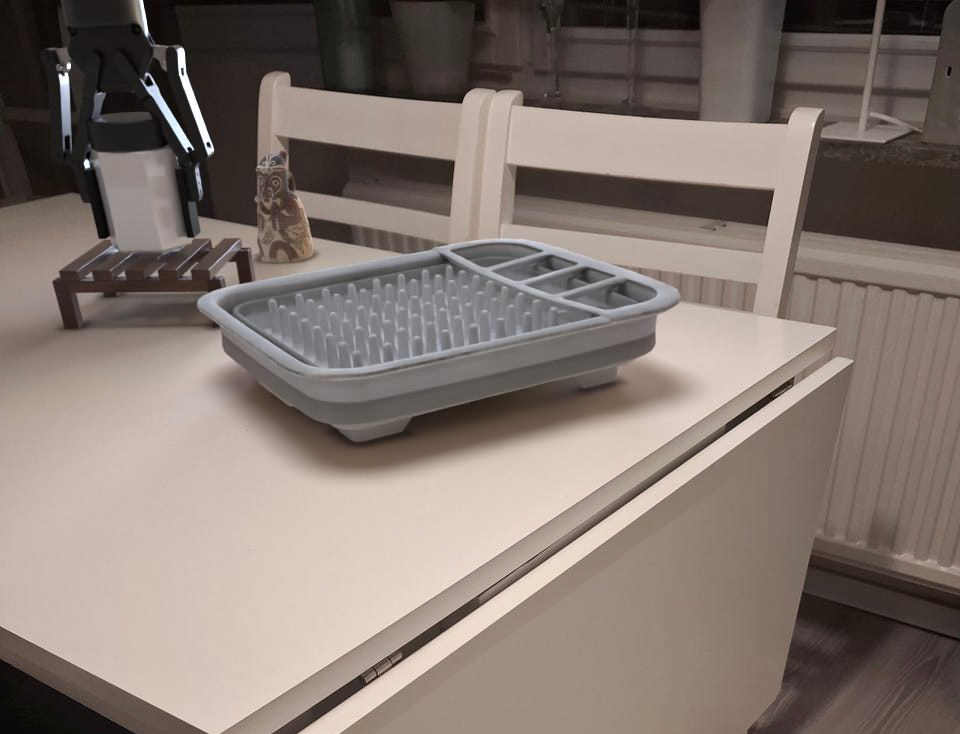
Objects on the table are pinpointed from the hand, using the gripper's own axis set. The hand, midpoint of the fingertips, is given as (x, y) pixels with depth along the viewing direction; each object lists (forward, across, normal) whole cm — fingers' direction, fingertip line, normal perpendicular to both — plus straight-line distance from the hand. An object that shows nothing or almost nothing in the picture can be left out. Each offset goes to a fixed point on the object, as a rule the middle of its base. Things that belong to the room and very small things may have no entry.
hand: (150, 235), depth 109 cm
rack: (+8, 0, 0) cm, 8 cm away
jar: (+1, 0, 0) cm, 1 cm away
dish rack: (+8, -33, +23) cm, 41 cm away
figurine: (+8, -9, -24) cm, 27 cm away
